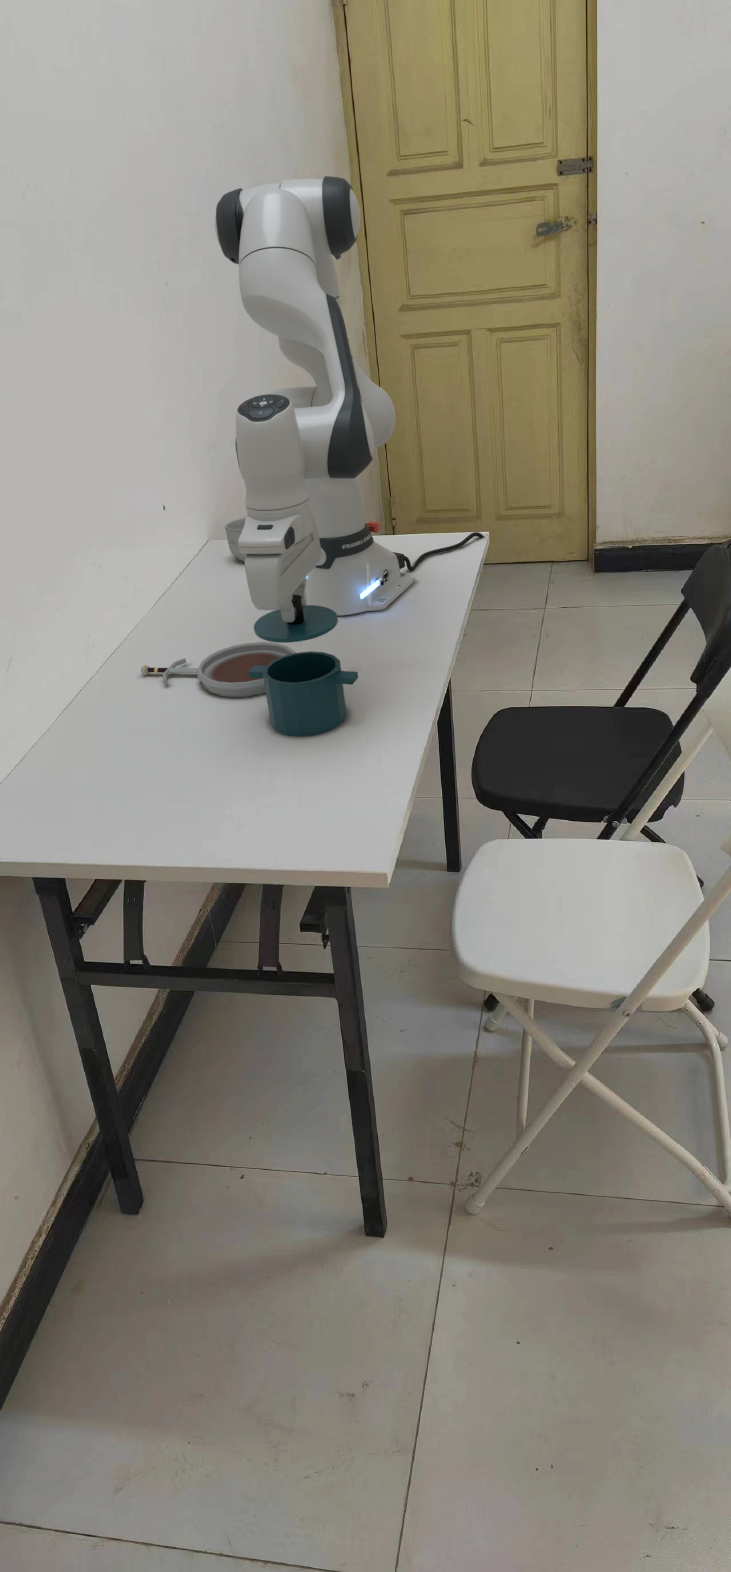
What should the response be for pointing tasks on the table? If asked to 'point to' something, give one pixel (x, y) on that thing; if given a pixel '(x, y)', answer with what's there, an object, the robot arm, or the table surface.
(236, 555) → the teacup
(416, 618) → the table surface
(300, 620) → the lid
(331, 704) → the pot
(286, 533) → the robot arm
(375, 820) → the table surface
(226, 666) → the frying pan
